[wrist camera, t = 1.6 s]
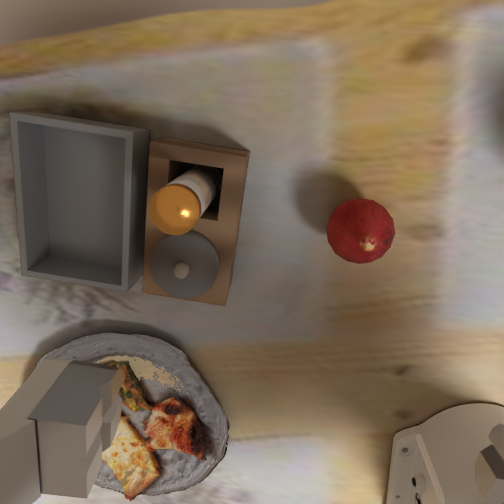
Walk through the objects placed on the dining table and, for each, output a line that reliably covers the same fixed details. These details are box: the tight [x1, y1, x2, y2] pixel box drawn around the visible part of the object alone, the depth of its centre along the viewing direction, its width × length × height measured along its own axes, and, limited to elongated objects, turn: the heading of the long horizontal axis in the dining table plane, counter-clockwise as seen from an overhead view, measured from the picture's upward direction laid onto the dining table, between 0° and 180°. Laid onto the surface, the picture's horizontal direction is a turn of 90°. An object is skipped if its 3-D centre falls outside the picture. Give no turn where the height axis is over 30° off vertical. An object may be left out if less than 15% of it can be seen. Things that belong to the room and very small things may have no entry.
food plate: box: [30, 332, 229, 501], centre depth 46 cm, size 25×23×4 cm
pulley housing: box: [142, 138, 250, 306], centre depth 34 cm, size 14×8×8 cm, turn 172°
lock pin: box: [149, 164, 222, 235], centre depth 31 cm, size 3×3×12 cm
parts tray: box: [9, 112, 150, 292], centre depth 36 cm, size 15×10×4 cm
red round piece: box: [327, 198, 395, 264], centre depth 34 cm, size 6×6×8 cm
